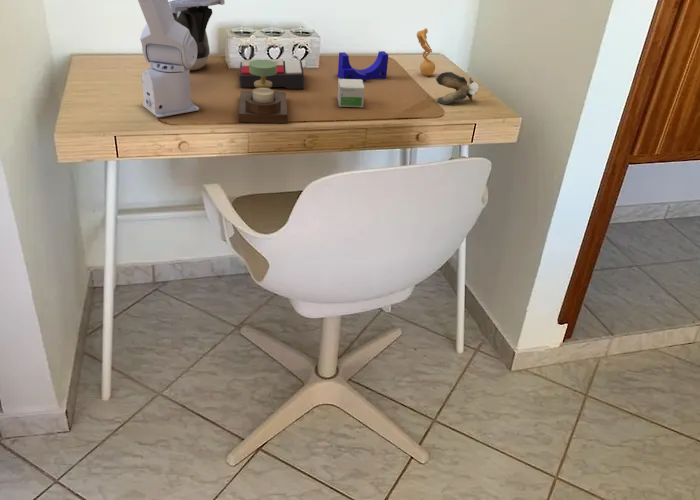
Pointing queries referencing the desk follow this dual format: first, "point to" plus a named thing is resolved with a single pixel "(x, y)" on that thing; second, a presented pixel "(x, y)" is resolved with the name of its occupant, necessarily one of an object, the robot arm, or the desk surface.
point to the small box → (350, 93)
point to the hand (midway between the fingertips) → (198, 41)
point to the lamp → (263, 72)
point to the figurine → (427, 65)
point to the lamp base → (262, 109)
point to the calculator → (285, 77)
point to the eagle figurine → (456, 87)
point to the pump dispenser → (201, 47)
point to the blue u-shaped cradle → (372, 72)
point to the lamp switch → (263, 95)
